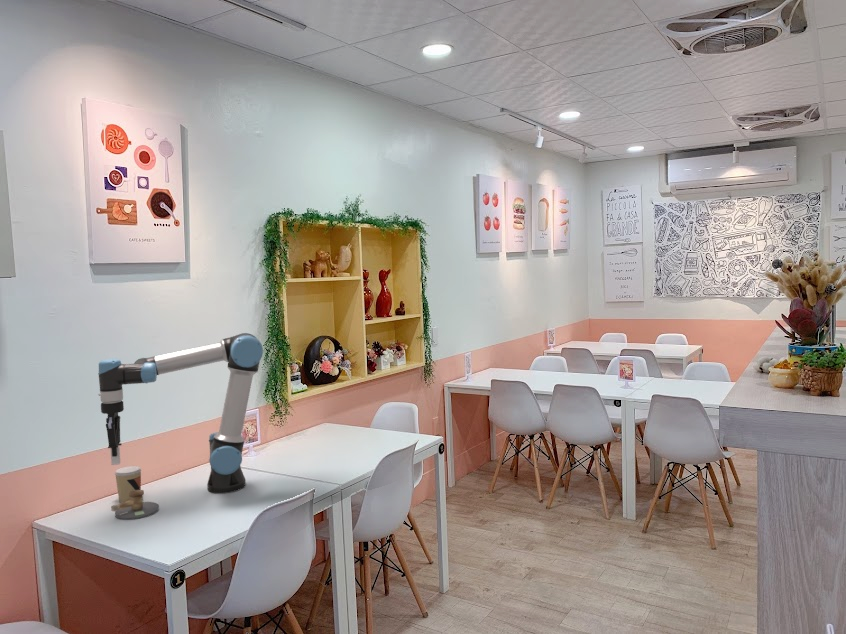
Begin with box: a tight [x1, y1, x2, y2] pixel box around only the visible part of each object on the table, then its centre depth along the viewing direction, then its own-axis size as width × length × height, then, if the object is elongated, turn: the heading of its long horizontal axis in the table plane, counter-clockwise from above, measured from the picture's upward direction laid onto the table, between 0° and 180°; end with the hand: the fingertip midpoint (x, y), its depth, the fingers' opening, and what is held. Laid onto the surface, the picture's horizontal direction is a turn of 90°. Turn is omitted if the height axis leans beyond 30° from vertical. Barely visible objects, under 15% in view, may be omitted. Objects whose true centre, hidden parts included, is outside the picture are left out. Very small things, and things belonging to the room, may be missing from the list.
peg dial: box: [110, 489, 145, 513], centre depth 239 cm, size 12×5×6 cm, turn 144°
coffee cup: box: [114, 465, 142, 503], centre depth 256 cm, size 9×9×12 cm
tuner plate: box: [114, 501, 160, 521], centre depth 242 cm, size 15×15×1 cm
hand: (116, 464), depth 241 cm, fingers closed
